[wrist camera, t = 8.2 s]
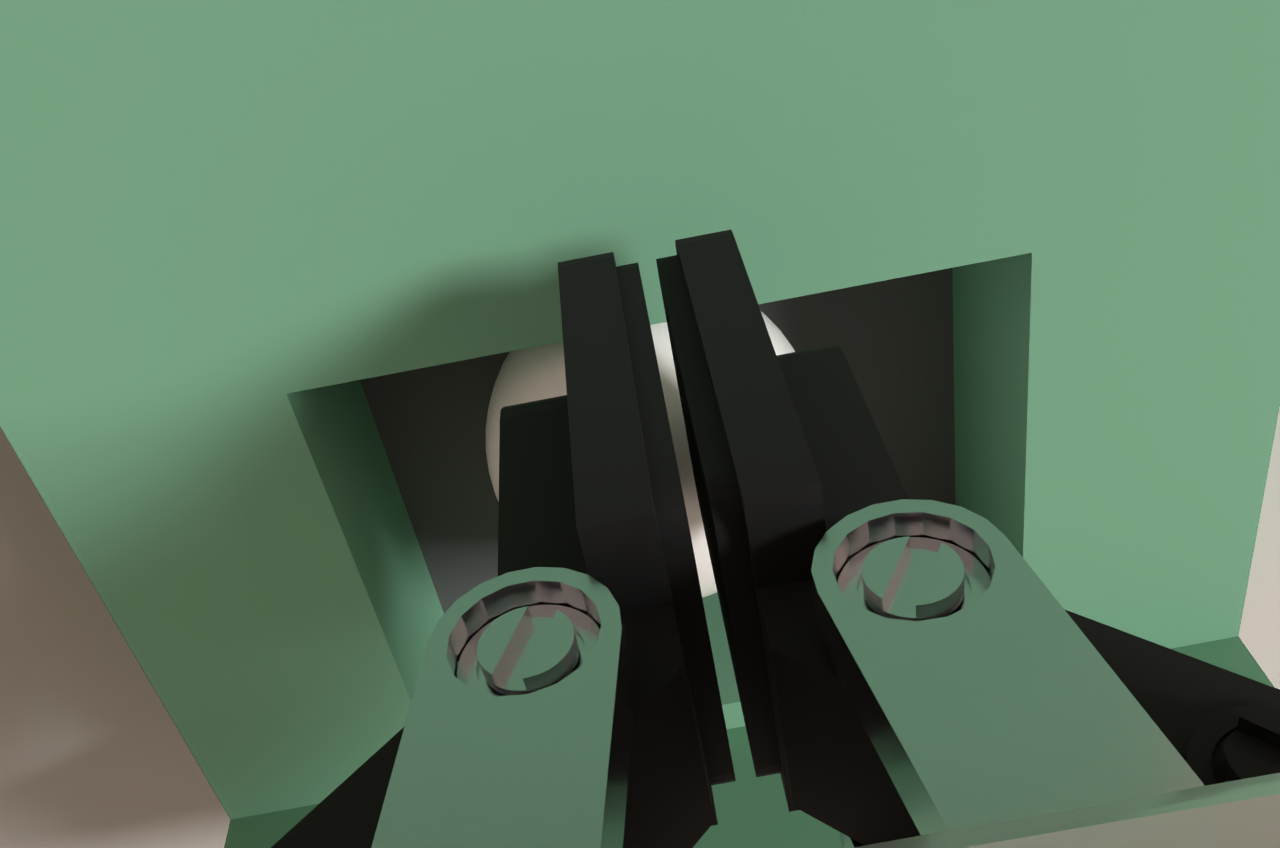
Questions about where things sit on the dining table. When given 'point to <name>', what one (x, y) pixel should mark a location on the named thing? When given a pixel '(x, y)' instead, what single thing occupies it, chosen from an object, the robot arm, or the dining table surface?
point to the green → (641, 233)
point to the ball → (545, 378)
